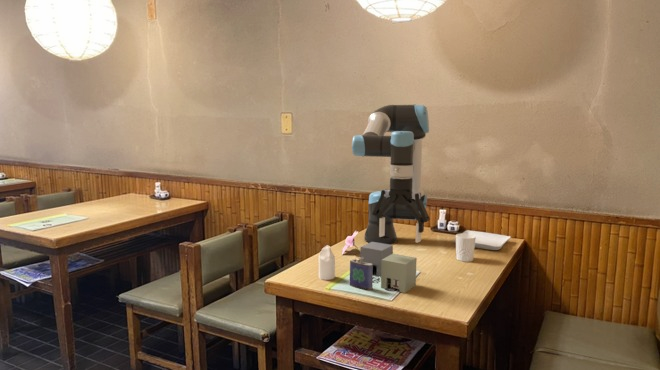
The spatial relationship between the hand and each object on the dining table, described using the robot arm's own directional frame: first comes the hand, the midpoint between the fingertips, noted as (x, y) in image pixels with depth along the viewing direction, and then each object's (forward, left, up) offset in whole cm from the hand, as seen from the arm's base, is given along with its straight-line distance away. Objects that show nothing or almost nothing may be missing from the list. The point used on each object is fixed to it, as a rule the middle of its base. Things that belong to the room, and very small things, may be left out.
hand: (399, 238), depth 170 cm
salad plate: (+8, +72, -18) cm, 75 cm away
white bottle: (-26, -6, -17) cm, 32 cm away
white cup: (+9, +44, -17) cm, 48 cm away
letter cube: (0, 0, -17) cm, 17 cm away
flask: (-11, -8, -17) cm, 22 cm away
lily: (-36, +27, -17) cm, 48 cm away
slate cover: (-14, +10, -17) cm, 24 cm away
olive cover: (0, 0, -17) cm, 17 cm away
